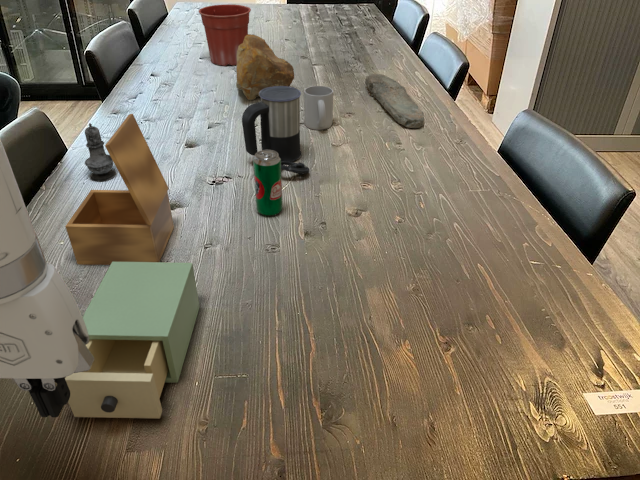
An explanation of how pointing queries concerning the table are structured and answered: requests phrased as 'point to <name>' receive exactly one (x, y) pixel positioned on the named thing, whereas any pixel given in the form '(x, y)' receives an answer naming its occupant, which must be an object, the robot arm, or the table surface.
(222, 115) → the table surface
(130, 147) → the lid
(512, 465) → the table surface
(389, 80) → the elongated rock
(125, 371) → the drawer
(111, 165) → the grey chess piece
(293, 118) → the milk frother
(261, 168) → the soda can
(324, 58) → the table surface
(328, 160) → the table surface
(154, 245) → the chest
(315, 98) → the cup
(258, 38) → the jagged brown rock
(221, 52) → the flower pot
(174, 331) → the cabinet
